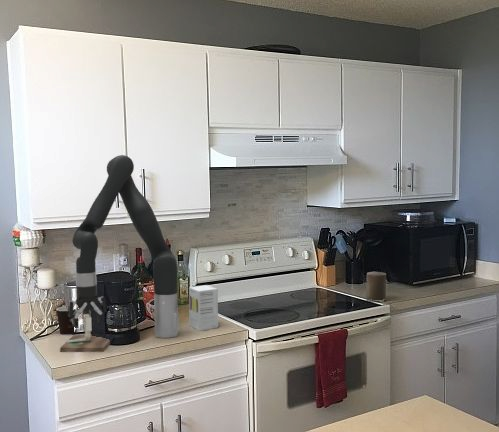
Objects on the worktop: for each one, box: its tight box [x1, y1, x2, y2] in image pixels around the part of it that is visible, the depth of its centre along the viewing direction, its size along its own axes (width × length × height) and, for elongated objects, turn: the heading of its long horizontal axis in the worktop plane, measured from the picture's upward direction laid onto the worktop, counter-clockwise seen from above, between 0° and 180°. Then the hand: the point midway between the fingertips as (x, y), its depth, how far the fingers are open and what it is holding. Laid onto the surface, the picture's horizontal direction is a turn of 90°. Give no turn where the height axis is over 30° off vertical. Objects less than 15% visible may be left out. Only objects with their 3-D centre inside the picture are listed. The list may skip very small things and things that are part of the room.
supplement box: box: [188, 284, 219, 331], centre depth 245 cm, size 10×9×17 cm
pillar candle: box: [365, 270, 387, 300], centre depth 292 cm, size 10×10×15 cm
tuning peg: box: [66, 313, 93, 343], centre depth 219 cm, size 8×6×9 cm
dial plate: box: [59, 334, 111, 353], centre depth 221 cm, size 16×16×2 cm
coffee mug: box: [56, 305, 76, 335], centre depth 239 cm, size 12×9×10 cm
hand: (87, 325), depth 221 cm, fingers open, 8 cm apart
